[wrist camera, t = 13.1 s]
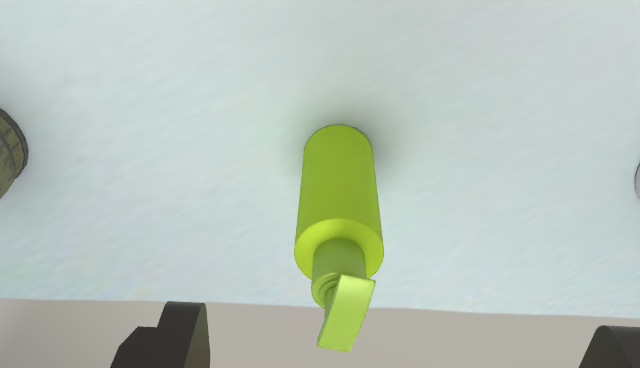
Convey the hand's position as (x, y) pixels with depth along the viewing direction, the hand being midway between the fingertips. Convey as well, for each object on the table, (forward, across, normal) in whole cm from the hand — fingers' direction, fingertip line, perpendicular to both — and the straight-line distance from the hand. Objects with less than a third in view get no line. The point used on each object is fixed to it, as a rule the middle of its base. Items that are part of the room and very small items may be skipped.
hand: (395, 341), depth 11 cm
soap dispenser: (+33, 0, +14) cm, 36 cm away
